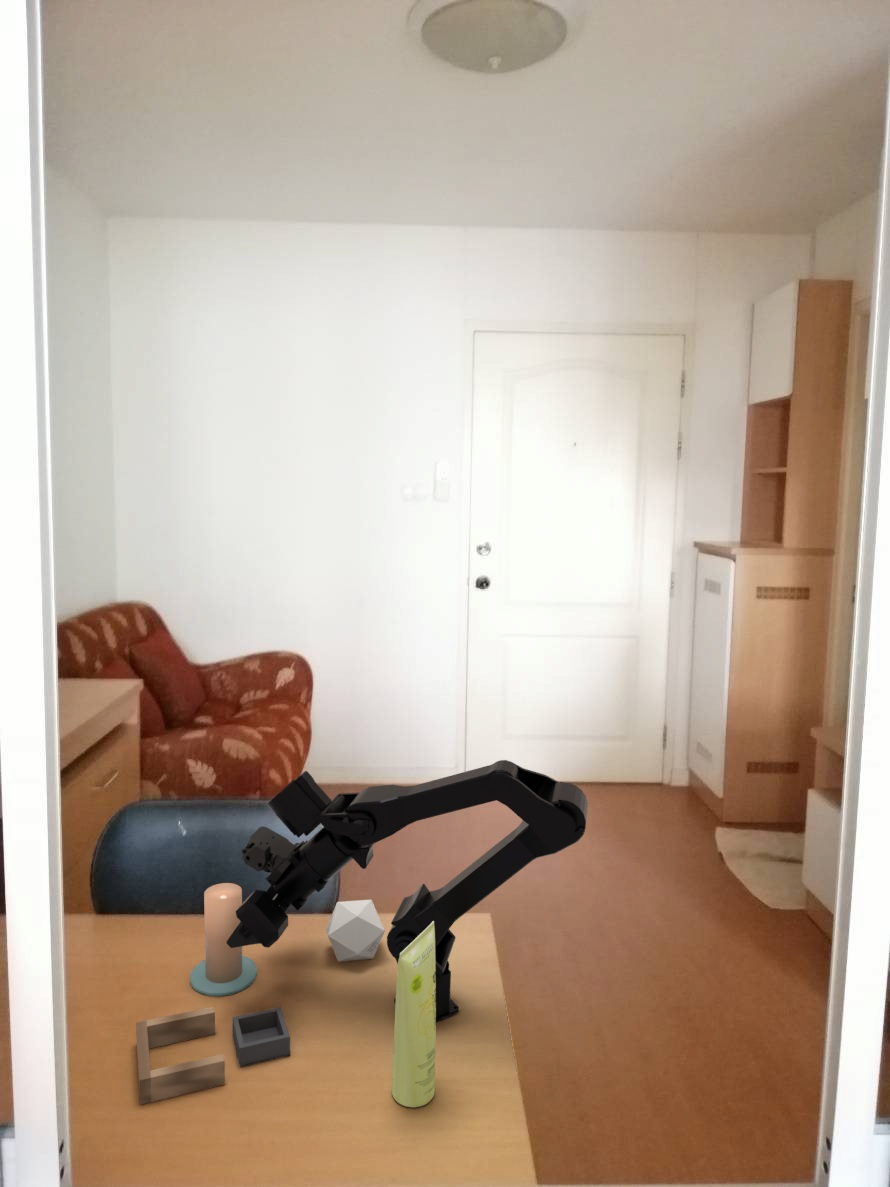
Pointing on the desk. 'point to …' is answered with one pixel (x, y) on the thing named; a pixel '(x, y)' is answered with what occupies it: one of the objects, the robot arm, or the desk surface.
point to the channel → (180, 1075)
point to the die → (355, 930)
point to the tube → (415, 1022)
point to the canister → (222, 932)
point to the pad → (223, 989)
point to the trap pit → (260, 1036)
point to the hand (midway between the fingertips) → (243, 926)
